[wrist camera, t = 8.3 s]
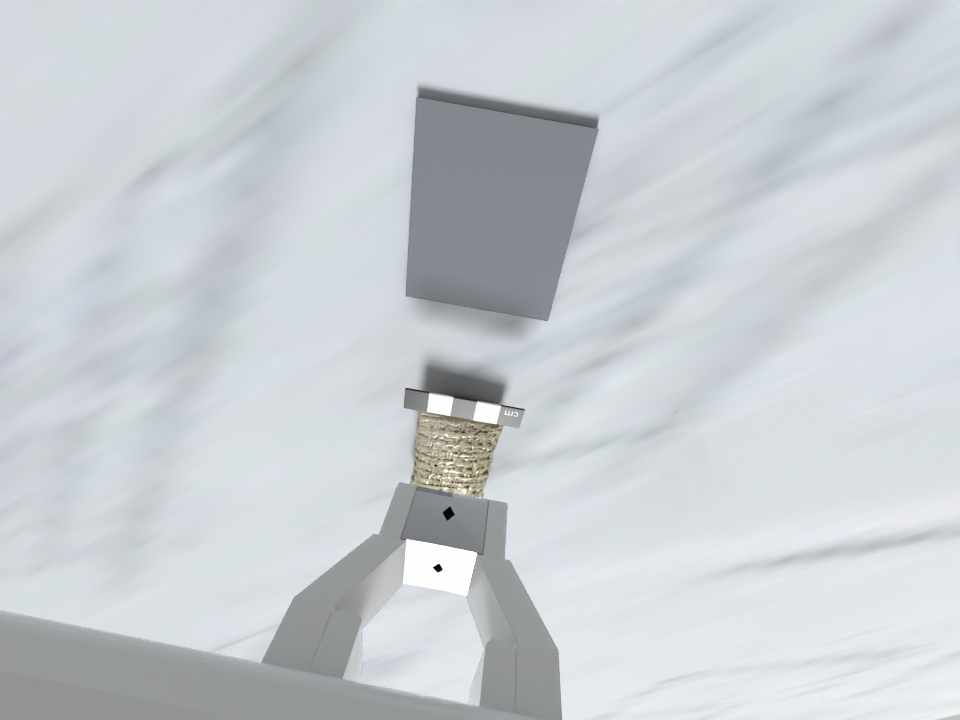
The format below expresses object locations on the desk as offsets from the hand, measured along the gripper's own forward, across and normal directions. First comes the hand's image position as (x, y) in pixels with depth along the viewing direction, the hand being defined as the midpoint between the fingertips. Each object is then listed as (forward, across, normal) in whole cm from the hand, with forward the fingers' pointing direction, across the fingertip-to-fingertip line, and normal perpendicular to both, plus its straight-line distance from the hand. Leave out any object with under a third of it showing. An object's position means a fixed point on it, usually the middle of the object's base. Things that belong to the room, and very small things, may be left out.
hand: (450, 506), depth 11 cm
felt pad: (+16, +1, -4) cm, 17 cm away
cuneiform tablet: (+14, +1, +5) cm, 15 cm away
